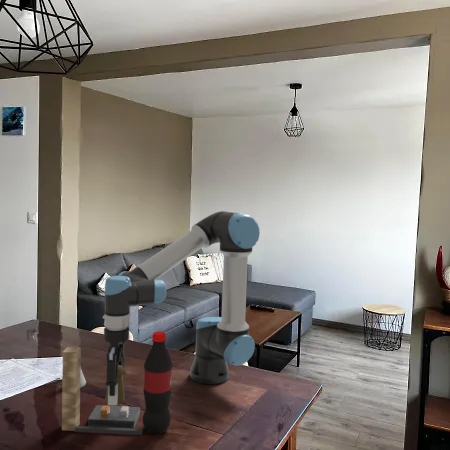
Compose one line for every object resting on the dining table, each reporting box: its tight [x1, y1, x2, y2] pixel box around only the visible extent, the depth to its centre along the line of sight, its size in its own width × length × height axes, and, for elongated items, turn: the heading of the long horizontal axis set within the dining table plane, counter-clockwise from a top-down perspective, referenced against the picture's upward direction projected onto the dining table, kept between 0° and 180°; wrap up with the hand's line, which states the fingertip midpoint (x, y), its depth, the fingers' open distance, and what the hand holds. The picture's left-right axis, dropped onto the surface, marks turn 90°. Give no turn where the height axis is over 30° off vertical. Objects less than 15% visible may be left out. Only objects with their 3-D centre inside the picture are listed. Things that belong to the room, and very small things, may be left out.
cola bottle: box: [142, 330, 173, 435], centre depth 142 cm, size 8×8×30 cm
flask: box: [80, 365, 87, 389], centre depth 171 cm, size 7×7×10 cm
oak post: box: [61, 346, 82, 432], centre depth 141 cm, size 4×4×24 cm
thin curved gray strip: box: [74, 425, 144, 436], centre depth 140 cm, size 20×1×1 cm, turn 89°
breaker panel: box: [87, 404, 141, 429], centre depth 147 cm, size 14×9×4 cm, turn 89°
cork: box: [104, 365, 126, 406], centre depth 146 cm, size 6×6×11 cm
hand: (115, 399), depth 147 cm, fingers closed on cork, 6 cm apart
